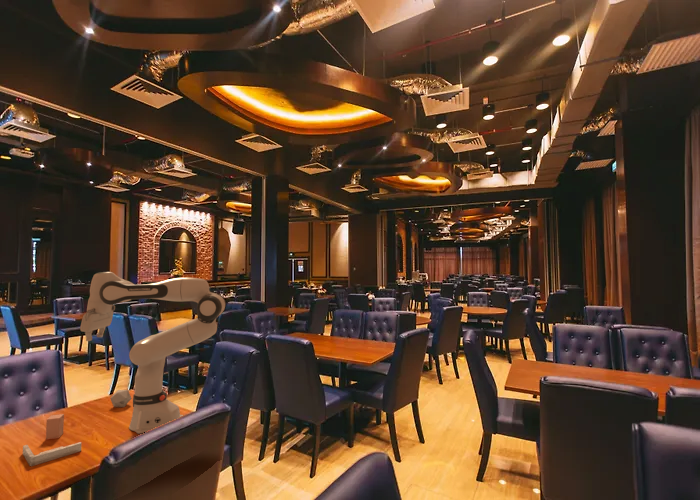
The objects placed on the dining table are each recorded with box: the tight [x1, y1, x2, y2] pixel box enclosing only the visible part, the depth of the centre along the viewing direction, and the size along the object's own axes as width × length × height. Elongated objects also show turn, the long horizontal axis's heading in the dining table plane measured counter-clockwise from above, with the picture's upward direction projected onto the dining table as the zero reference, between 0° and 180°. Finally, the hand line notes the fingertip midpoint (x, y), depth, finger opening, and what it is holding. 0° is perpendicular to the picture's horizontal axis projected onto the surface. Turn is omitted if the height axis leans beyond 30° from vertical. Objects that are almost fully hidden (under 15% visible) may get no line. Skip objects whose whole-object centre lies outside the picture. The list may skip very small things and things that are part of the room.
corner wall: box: [22, 441, 82, 467], centre depth 141 cm, size 14×15×3 cm
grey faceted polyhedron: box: [109, 389, 133, 408], centre depth 189 cm, size 8×9×10 cm
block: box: [45, 413, 65, 440], centre depth 155 cm, size 4×4×8 cm
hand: (94, 338), depth 165 cm, fingers open, 8 cm apart
